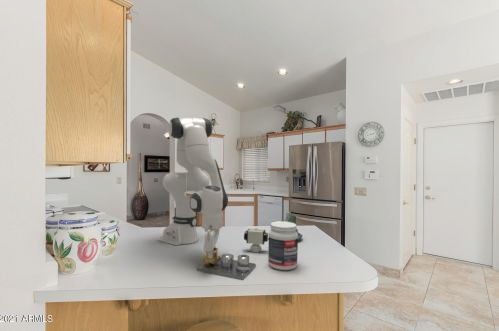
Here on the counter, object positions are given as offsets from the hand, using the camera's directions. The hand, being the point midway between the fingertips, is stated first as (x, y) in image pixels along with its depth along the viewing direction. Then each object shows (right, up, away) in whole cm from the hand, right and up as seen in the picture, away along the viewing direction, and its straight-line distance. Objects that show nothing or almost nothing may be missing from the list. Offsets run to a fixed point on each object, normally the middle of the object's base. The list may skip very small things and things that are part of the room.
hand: (211, 254), depth 111 cm
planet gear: (0, -2, 0) cm, 2 cm away
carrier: (+7, -5, -3) cm, 9 cm away
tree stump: (+38, -5, +41) cm, 56 cm away
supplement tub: (+31, -6, +2) cm, 32 cm away
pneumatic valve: (+20, -5, +19) cm, 28 cm away
